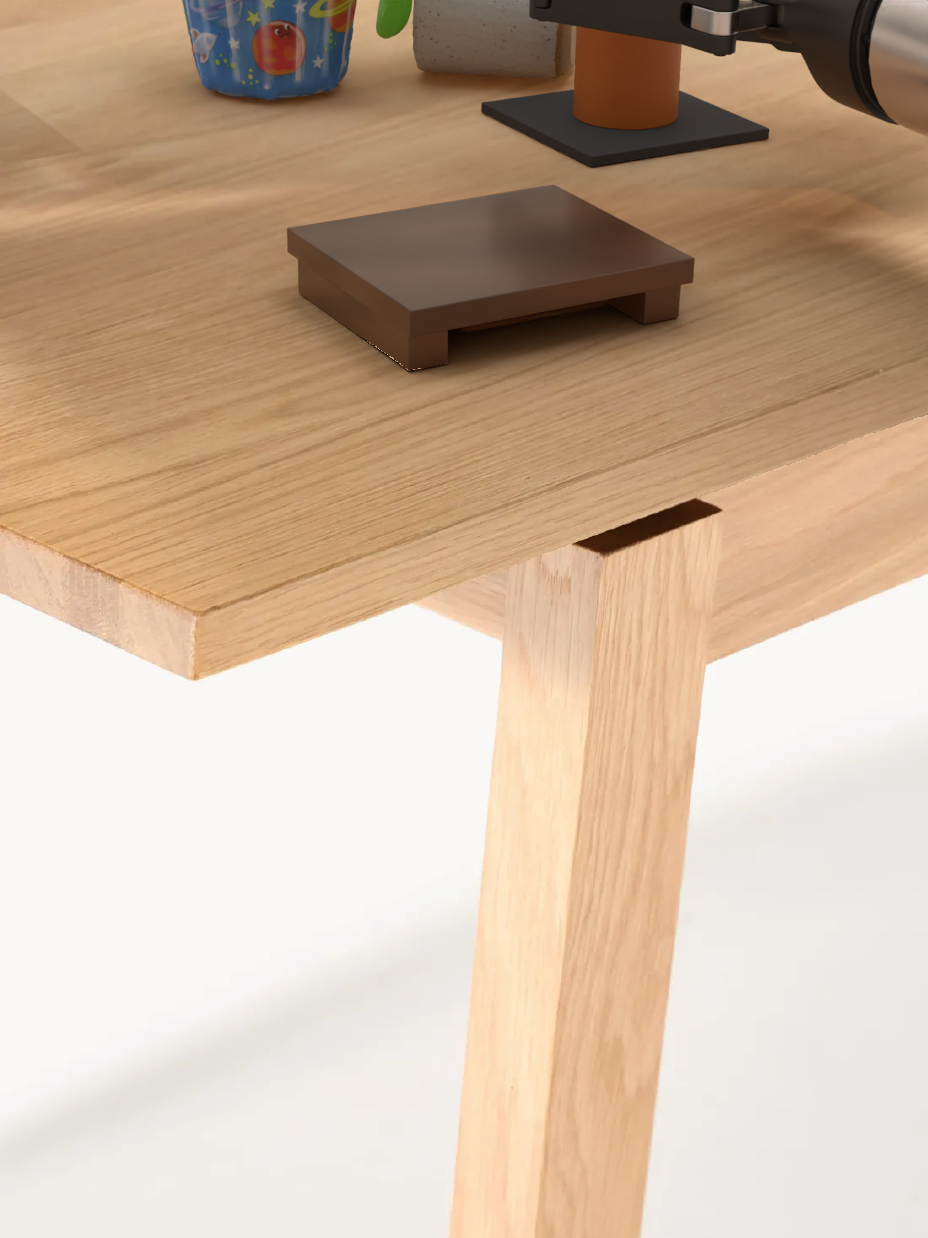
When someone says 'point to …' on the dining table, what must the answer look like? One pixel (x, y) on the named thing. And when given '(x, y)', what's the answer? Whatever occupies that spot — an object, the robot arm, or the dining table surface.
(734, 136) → the mat
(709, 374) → the dining table surface
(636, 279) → the low wooden stand
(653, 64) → the spice bottle
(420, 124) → the dining table surface
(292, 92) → the snack cup
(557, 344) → the dining table surface
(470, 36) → the ceramic mug
